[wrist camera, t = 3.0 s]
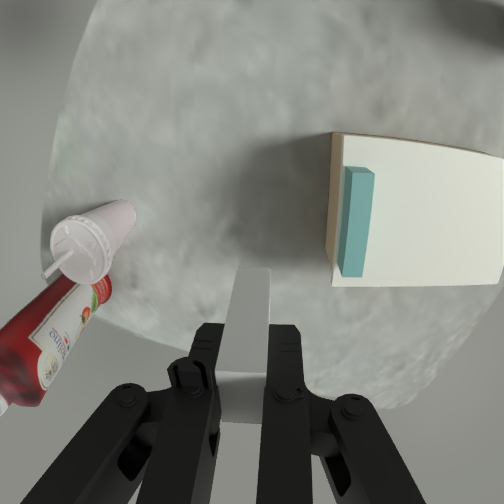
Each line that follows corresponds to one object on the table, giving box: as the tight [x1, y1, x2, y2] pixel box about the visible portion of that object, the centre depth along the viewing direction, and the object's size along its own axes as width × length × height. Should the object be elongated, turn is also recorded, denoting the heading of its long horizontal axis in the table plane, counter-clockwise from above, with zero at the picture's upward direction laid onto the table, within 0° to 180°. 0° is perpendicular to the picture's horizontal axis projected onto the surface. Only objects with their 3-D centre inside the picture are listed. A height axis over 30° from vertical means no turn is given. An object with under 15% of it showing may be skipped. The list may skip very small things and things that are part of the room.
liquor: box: [0, 273, 112, 417], centre depth 24 cm, size 7×7×28 cm
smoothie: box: [41, 200, 137, 285], centre depth 27 cm, size 6×6×14 cm
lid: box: [331, 134, 504, 287], centre depth 23 cm, size 13×19×3 cm
